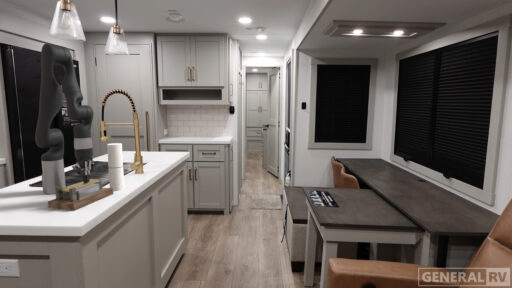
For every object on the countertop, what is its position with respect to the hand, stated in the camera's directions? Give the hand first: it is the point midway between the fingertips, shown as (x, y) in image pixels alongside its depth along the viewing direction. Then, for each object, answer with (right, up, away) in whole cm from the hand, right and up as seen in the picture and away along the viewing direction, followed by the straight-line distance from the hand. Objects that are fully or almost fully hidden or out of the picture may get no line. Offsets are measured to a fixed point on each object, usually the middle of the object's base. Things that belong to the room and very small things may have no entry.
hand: (86, 182), depth 137 cm
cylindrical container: (+6, -6, +18) cm, 20 cm away
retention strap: (-1, -2, -3) cm, 4 cm away
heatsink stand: (-1, -9, -1) cm, 9 cm away
